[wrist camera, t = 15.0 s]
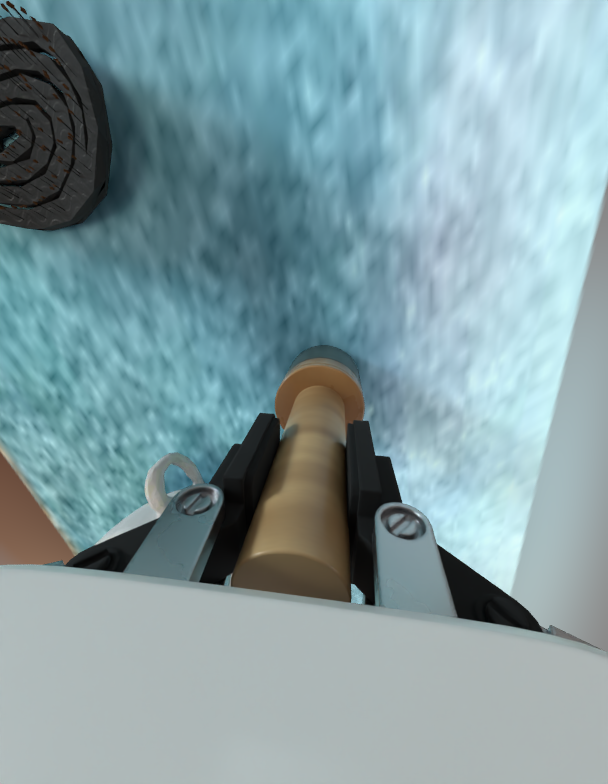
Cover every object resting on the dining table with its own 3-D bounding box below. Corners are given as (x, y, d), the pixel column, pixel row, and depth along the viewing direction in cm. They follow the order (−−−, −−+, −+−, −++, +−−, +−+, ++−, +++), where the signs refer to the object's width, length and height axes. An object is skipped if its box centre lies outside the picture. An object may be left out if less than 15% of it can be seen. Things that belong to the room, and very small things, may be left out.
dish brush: (278, 357, 19) (146, 533, 6) (348, 335, 18) (370, 491, 5) (301, 419, 20) (234, 667, 7) (367, 402, 19) (421, 656, 6)
